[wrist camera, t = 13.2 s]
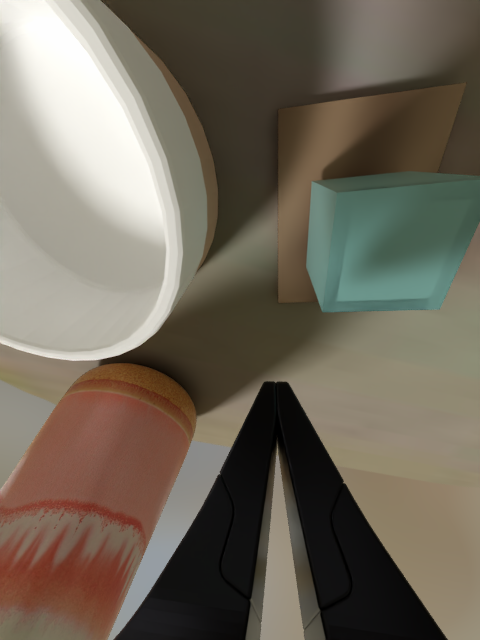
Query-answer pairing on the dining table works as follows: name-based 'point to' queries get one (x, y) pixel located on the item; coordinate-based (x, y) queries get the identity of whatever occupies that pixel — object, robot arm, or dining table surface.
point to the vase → (89, 502)
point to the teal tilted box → (389, 239)
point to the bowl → (94, 183)
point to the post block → (351, 158)
